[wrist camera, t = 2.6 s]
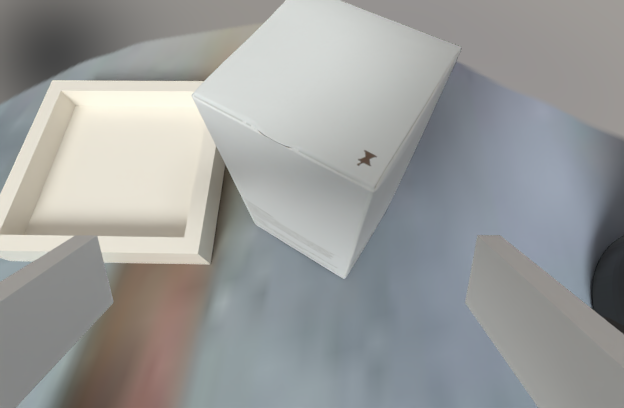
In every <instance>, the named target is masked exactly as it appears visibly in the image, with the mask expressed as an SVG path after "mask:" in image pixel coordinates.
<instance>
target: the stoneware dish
mask: <svg viewBox="0 0 624 408" xmlns="http://www.w3.org/2000/svg"><path fill="white" fill-rule="evenodd" d="M203 82H204V81H78V80H52V82H51V85H50V87H49V89H48V91H47V93H46V95H45V98H44V100H43V102H42V104H41V106H40V109H39V111H38V113H37V115H36V117H35V120H34V122H33V124H32V126H31V128H30V131H29V133H28V135H27V137H26V139H25V142H24V144H23V146H22V148H21V150H20V153H19V155H18V157H17V159H16V161H15V163H14V166H13V168H12V170H11V172H10V174H9V177H8V179H7V181H6V183H5V185H4V188H3V190H2V192H1V194H0V258H2V259H6V260H9V261H35V260H36V259H38V258H40V257H41V256H43V255H45V254H46V253H48V252H49V251H51V250H53V249H54V248H56V247H57V246H59V245H61V244H62V243H64V242H65V241H67V240H69V239H70V238H72V237H74V236H75V235H97V237H98V241H99V245H100V249H101V253H102V257H103V261H104V263H162V264H211V257H212V251H213V244H214V237H215V231H216V224H217V217H218V211H219V204H220V197H221V190H222V184H223V177H224V170H225V163H224V160H223V158H222V157H221V155H220V153H219V151H218V149H217V147H216V145H215V143H214V141H213V139H212V137H211V135H210V133H209V131H208V129H207V127H206V125H205V122H204V120H203V118H202V116H201V114H200V112H199V110H198V108H197V106H196V104H195V102H194V100H193V98H192V96H191V95H192V94H193V93H194V91H195V90H196V89H197V88H198V87H199V86H200V85H201V84H202V83H203Z"/></svg>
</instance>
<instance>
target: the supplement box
mask: <svg viewBox="0 0 624 408" xmlns="http://www.w3.org/2000/svg"><path fill="white" fill-rule="evenodd" d="M461 49H462V48H461V46H459V45H456V44H453V43H450V42H447V41H445V40H442V39H440V38H437V37H434V36H432V35H429V34H427V33H424V32H421V31H419V30H416V29H414V28H411V27H408V26H406V25H403V24H400V23H398V22H395V21H392V20H390V19H387V18H385V17H382V16H379V15H377V14H374V13H372V12H369V11H366V10H364V9H361V8H359V7H356V6H354V5H351V4H349V3H346V2H343V1H341V0H286V1H285V2H284V3H283V4H282V5H281V6H280V7H279V8H278V9H277V10H276V11H275V12H274V13H273V15H272V16H271V17H270V18H269V19H268V20H267V21H266V22H265V23H264V24H262V25H261V26H260V27H259V28H258V29H257V30H256V31H255V32H254V33H253V34H252V35H251V36H250V37H249V38H248V39H247V40H246V41H245V42H244V43H243V44H242V45H241V46H240V47H239V48H238V49H237V50H236V51H235V52H234V53H233V54H232V55H230V56H229V57H228V58H227V59H226V60H225V61H224V62H223V63H222V64H221V65H220V66H219V67H218V68H217V69H216V70H215V71H214V72H213V73H212V74H211V75H210V76H209V77H208V78H207V79H206V80H205V81H204V82H203V83H202V84H201V85H200V86H199V87H198V88H197V89H196V90H195V91H194V93H193V94H192V95H191V96H192V98H193V100H194V102H195V104H196V106H197V108H198V110H199V112H200V114H201V116H202V118H203V120H204V122H205V125H206V127H207V129H208V131H209V133H210V135H211V137H212V139H213V141H214V143H215V145H216V147H217V149H218V151H219V153H220V155H221V157H222V158H223V160H224V163H225V165H226V167H227V169H228V171H229V173H230V175H231V177H232V179H233V181H234V183H235V185H236V187H237V189H238V191H239V193H240V195H241V197H242V199H243V201H244V203H245V205H246V207H247V209H248V211H249V213H250V215H251V217H252V219H253V221H254V223H255V224H256V225H257V226H259V227H260V228H262V229H263V230H265V231H267V232H268V233H270V234H272V235H273V236H275V237H276V238H278V239H280V240H281V241H283V242H284V243H286V244H288V245H289V246H291V247H293V248H294V249H296V250H297V251H299V252H301V253H302V254H304V255H306V256H307V257H309V258H310V259H312V260H314V261H315V262H317V263H319V264H320V265H322V266H323V267H325V268H327V269H328V270H330V271H331V272H333V273H335V274H336V275H338V276H340V277H342V278H346V277H347V275H348V274H349V272H350V271H351V269H352V267H353V266H354V264H355V262H356V261H357V259H358V257H359V256H360V254H361V252H362V251H363V249H364V248H365V246H366V244H367V243H368V241H369V239H370V238H371V236H372V234H373V232H374V231H375V229H376V227H377V226H378V224H379V222H380V220H381V219H382V217H383V215H384V214H385V212H386V210H387V208H388V206H389V204H390V202H391V200H392V198H393V196H394V194H395V192H396V190H397V188H398V186H399V184H400V182H401V180H402V177H403V175H404V173H405V171H406V169H407V167H408V165H409V162H410V160H411V158H412V156H413V154H414V152H415V150H416V147H417V145H418V143H419V141H420V139H421V137H422V134H423V132H424V130H425V128H426V126H427V123H428V121H429V119H430V117H431V115H432V113H433V110H434V108H435V106H436V104H437V102H438V99H439V97H440V95H441V93H442V91H443V89H444V87H445V84H446V82H447V80H448V78H449V76H450V74H451V71H452V69H453V67H454V65H455V63H456V61H457V58H458V56H459V54H460V52H461Z"/></svg>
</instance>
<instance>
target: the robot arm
mask: <svg viewBox="0 0 624 408" xmlns="http://www.w3.org/2000/svg"><path fill="white" fill-rule="evenodd" d="M592 294H593V306H594V310H593V309H591V308H590V307H589V306H588V305H586V304H585V303H584V302H583V301H581V300H580V299H579V298H578V297H576V296H575V295H574V294H573V293H571V292H570V291H569V290H568V289H566V288H565V287H564V286H563V285H561V284H560V283H559V282H558V281H556V280H555V279H554V278H553V277H551V276H550V275H549V274H548V273H546V272H545V271H544V270H543V269H541V268H540V267H539V266H538V265H536V264H535V263H534V262H533V261H531V260H530V259H529V258H528V257H526V256H525V255H524V254H523V253H521V252H520V251H519V250H518V249H516V248H515V247H514V246H513V245H511V244H510V243H509V242H508V241H506V240H505V239H504V238H503V237H501V236H500V235H477V241H476V246H475V252H474V257H473V263H472V268H471V274H470V279H469V285H468V290H467V296H466V301H465V303H466V305H467V306H468V308H469V309H470V310H471V312H472V313H473V315H474V316H475V318H476V319H477V320H478V322H479V323H480V325H481V326H482V328H483V329H484V330H485V332H486V333H487V335H488V336H489V338H490V339H491V340H492V342H493V343H494V345H495V346H496V348H497V349H498V350H499V352H500V353H501V355H502V356H503V358H504V359H505V360H506V362H507V363H508V365H509V366H510V368H511V369H512V370H513V372H514V373H515V375H516V376H517V378H518V379H519V381H520V382H521V383H522V385H523V386H524V388H525V389H526V391H527V392H528V393H529V395H530V396H531V398H532V399H533V401H534V402H535V403H536V405H537V406H538V408H624V236H622V237H621V238H619V239H618V240H616V241H615V242H614V243H613V244H611V245H610V246H609V247H608V249H607V250H606V251H605V252H604V254H603V255H602V257H601V259H600V260H599V263H598V265H597V267H596V271H595V274H594V279H593V293H592ZM113 303H114V302H113V298H112V294H111V290H110V286H109V282H108V277H107V273H106V269H105V265H104V261H103V257H102V253H101V249H100V245H99V241H98V237H97V235H75V236H74V237H72V238H70V239H69V240H67V241H65V242H64V243H62V244H61V245H59V246H57V247H56V248H54V249H53V250H51V251H49V252H48V253H46V254H45V255H43V256H41V257H40V258H38V259H36V260H35V261H33V262H32V263H30V264H28V265H27V266H25V267H24V268H22V269H20V270H19V271H17V272H16V273H14V274H12V275H11V276H9V277H8V278H6V279H4V280H3V281H1V282H0V408H16V407H17V406H18V405H19V403H20V402H21V401H22V400H23V399H24V398H25V397H26V396H27V395H28V394H29V393H30V392H31V391H32V390H33V388H34V387H35V386H36V385H37V384H38V383H39V382H40V381H41V380H42V379H43V378H44V377H45V376H46V374H47V373H48V372H49V371H50V370H51V369H52V368H53V367H54V366H55V365H56V364H57V363H58V362H59V361H60V359H61V358H62V357H63V356H64V355H65V354H66V353H67V352H68V351H69V350H70V349H71V348H72V347H73V345H74V344H75V343H76V342H77V341H78V340H79V339H80V338H81V337H82V336H83V335H84V334H85V333H86V332H87V330H88V329H89V328H90V327H91V326H92V325H93V324H94V323H95V322H96V321H97V320H98V319H99V318H100V316H101V315H102V314H103V313H104V312H105V311H106V310H107V309H108V308H109V307H110V306H111V305H112V304H113Z"/></svg>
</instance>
